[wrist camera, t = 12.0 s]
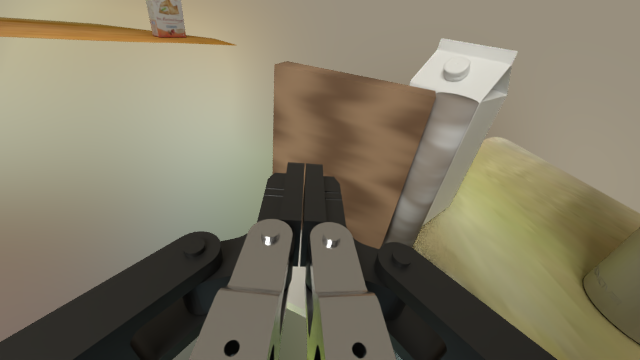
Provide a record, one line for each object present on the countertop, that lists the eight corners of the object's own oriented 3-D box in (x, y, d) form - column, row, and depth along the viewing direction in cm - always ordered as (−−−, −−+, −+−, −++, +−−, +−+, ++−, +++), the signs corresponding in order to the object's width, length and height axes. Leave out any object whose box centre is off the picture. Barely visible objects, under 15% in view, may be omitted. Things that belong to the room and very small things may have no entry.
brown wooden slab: (406, 250, 25) (476, 98, 17) (404, 270, 23) (482, 108, 15) (282, 206, 28) (289, 60, 20) (270, 220, 26) (272, 64, 18)
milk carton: (405, 181, 39) (456, 39, 28) (449, 207, 34) (529, 51, 24) (375, 196, 34) (423, 36, 24) (421, 228, 30) (503, 50, 20)
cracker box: (159, 37, 121) (148, -18, 110) (152, 35, 124) (140, -19, 112) (187, 37, 131) (179, -13, 120) (180, 35, 134) (171, -14, 122)
